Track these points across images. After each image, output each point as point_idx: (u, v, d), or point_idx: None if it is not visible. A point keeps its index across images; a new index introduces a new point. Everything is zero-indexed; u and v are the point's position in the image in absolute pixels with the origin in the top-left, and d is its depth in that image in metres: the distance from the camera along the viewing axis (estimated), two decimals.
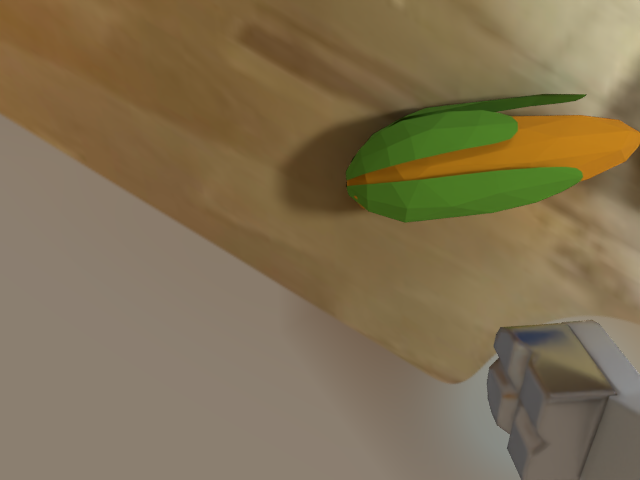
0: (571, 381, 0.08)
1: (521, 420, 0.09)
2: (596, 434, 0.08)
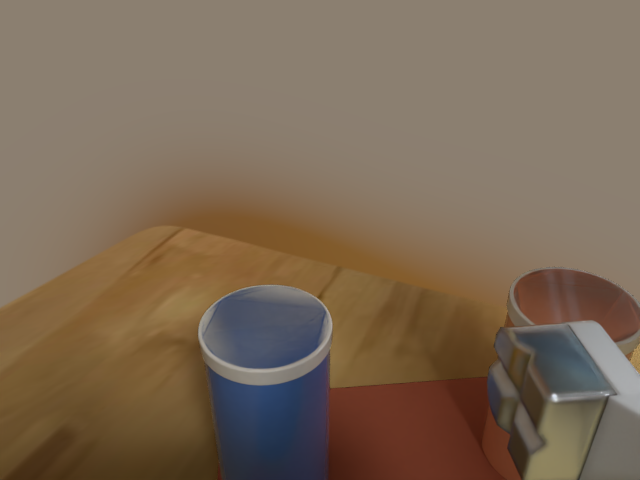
0: (571, 381, 0.08)
1: (521, 420, 0.09)
2: (596, 434, 0.08)
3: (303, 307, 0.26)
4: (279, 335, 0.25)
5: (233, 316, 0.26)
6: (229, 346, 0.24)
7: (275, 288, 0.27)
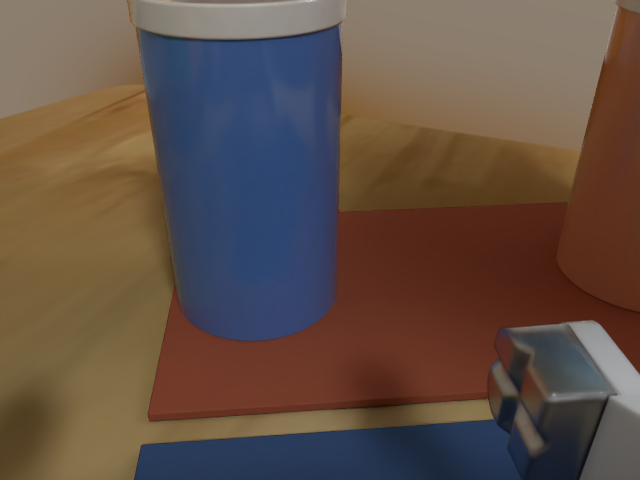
0: (571, 381, 0.08)
1: (521, 420, 0.09)
2: (596, 434, 0.08)
3: None
4: None
5: None
6: None
7: None
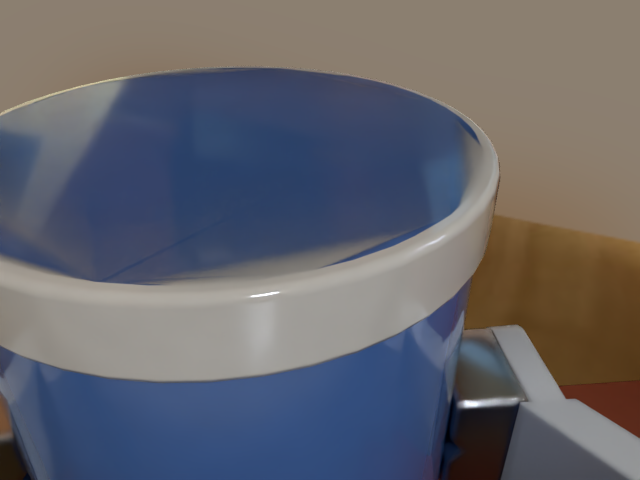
0: (484, 387, 0.08)
1: None
2: (510, 440, 0.08)
3: (366, 103, 0.07)
4: (279, 165, 0.06)
5: (102, 119, 0.07)
6: (39, 196, 0.05)
7: (267, 71, 0.08)
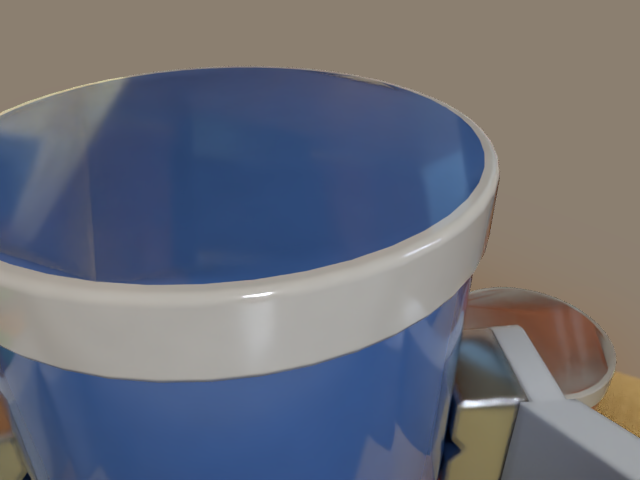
0: (484, 387, 0.08)
1: None
2: (510, 441, 0.08)
3: (366, 103, 0.07)
4: (279, 165, 0.06)
5: (102, 119, 0.07)
6: (39, 196, 0.05)
7: (268, 71, 0.08)
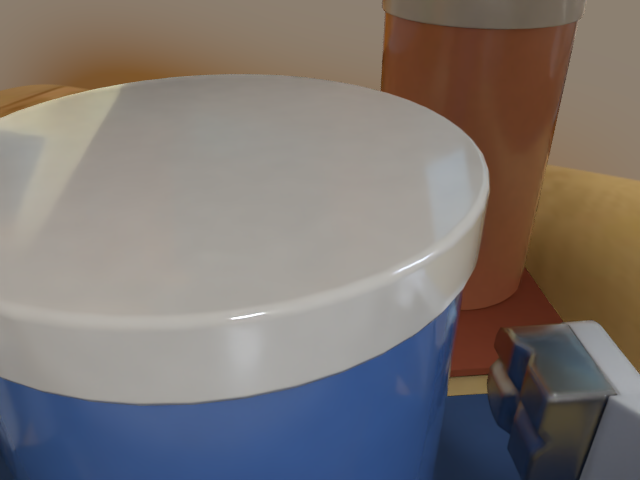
0: (571, 381, 0.08)
1: (521, 420, 0.09)
2: (596, 434, 0.08)
3: (357, 113, 0.07)
4: (266, 178, 0.06)
5: (89, 130, 0.07)
6: (20, 212, 0.05)
7: (259, 80, 0.08)
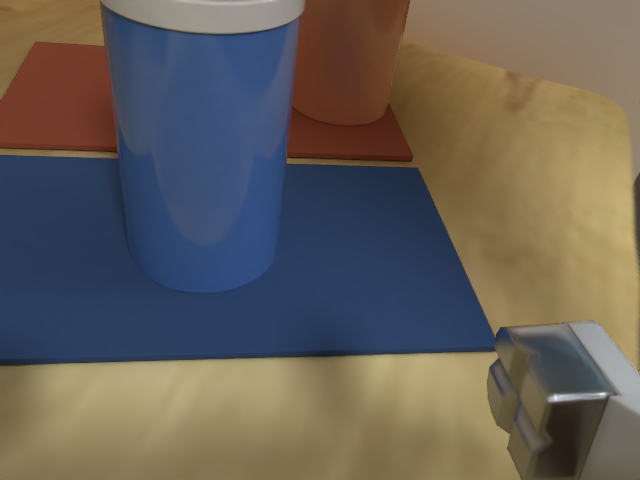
0: (571, 381, 0.08)
1: (521, 420, 0.09)
2: (596, 434, 0.08)
3: None
4: None
5: None
6: None
7: None
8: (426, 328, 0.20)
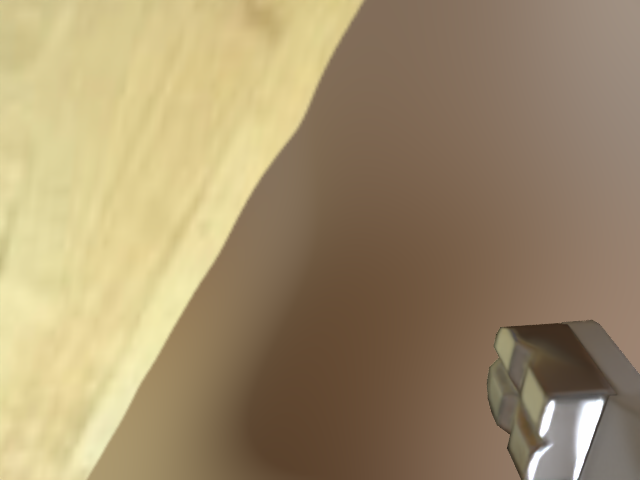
0: (571, 381, 0.08)
1: (521, 420, 0.09)
2: (596, 434, 0.08)
3: None
4: None
5: None
6: None
7: None
8: None
